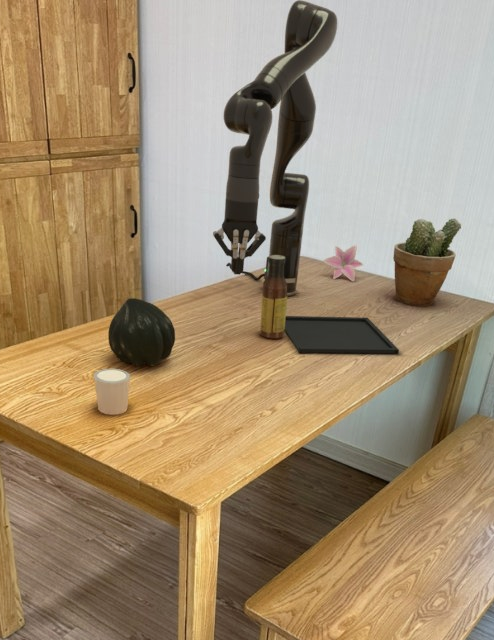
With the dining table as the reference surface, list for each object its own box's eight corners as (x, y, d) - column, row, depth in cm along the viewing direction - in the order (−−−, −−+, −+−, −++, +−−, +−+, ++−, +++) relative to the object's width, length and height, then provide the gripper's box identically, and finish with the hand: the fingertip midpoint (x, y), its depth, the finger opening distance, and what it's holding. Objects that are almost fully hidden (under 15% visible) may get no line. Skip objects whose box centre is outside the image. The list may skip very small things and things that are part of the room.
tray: (299, 353, 171) (300, 348, 170) (277, 319, 190) (278, 315, 190) (398, 354, 177) (399, 349, 176) (367, 321, 196) (367, 317, 195)
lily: (316, 277, 234) (323, 255, 225) (333, 257, 239) (340, 236, 231) (346, 295, 232) (354, 274, 224) (362, 275, 238) (371, 254, 229)
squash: (196, 335, 159) (156, 279, 155) (168, 359, 147) (124, 299, 143) (154, 364, 167) (115, 311, 163) (124, 389, 155) (81, 332, 151)
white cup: (96, 399, 139) (95, 367, 135) (131, 401, 140) (131, 368, 136) (92, 415, 134) (91, 381, 130) (129, 416, 134) (128, 383, 131)
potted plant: (408, 312, 207) (427, 224, 194) (372, 292, 220) (387, 209, 207) (455, 308, 215) (476, 223, 201) (418, 289, 228) (435, 209, 215)
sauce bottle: (284, 332, 182) (293, 255, 171) (282, 341, 177) (292, 261, 166) (259, 329, 182) (267, 252, 172) (257, 338, 177) (264, 258, 166)
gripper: (266, 195, 164) (260, 270, 173) (211, 192, 161) (207, 268, 171) (273, 202, 158) (266, 279, 167) (216, 199, 155) (212, 277, 164)
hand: (236, 273), depth 169 cm, fingers closed
